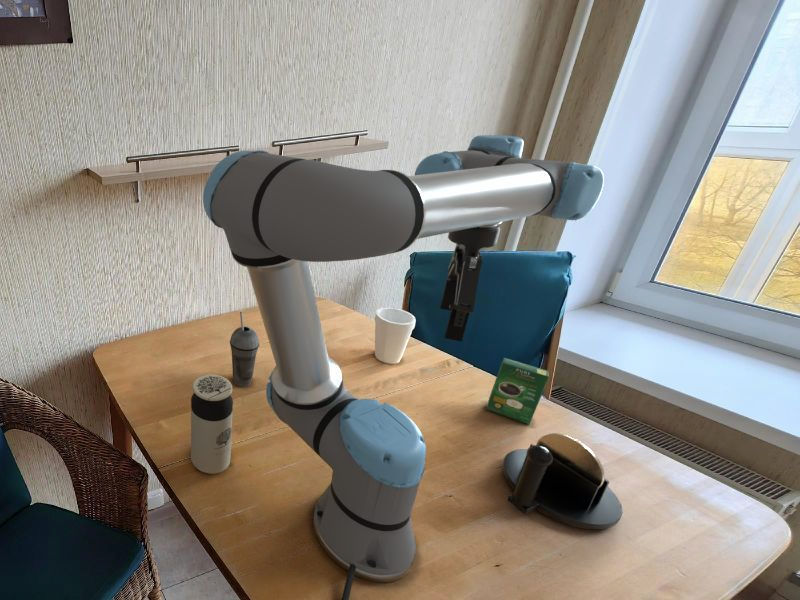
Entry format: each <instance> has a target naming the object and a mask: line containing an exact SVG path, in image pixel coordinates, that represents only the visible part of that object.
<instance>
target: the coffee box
mask: <svg viewBox="0 0 800 600" xmlns="http://www.w3.org/2000/svg"><path fill="white" fill-rule="evenodd" d="M549 379H550V372H549V370H546V369H542V368H539V367H536V366H532V365H530V364H526V363H523V362H520V361H516V360H513V359H511V358H507V357H503V359H502V362H501V364H500V367H499V369H498V372H497V375H496V377H495V381H494V383H493V386H492V389H491V392H490V394H489V397H488V401H487V404H486V410H488V411H491V412H493V413H495V414H498V415H501V416H504V417H507V418H510V419H512V420H514V421H518V422H520V423H524V424H527V425H531V422H532V420H533V417H534V416H535V415H534V414H535V412H536V410H537V408H538V405H539V403H540V400H541V398H542V396H543V393H544V391H545V388H546V387H547V384H548V381H549Z"/></svg>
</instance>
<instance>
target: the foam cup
mask: <svg viewBox="0 0 800 600" xmlns="http://www.w3.org/2000/svg"><path fill="white" fill-rule="evenodd" d="M374 321H375V324H374V356H375V358H376V359H377V360H378V361H380V362H383V363H386V364H389V365H390V364H391V365H396V364H399V363H400V362H401V359H402V357H403V356H404V353H405V350H406V348H407V345H408V344H409V343H408V342H409V340H410V337H411V335H412V332H413V330H414V329H415V327H416V321H417V319H416V316H414V315H413V314H412V313H410V312H409V311H406V310H404V309H401V308H400V309H399V308H397V307H396V308H395V307H381V308H378V309H377V310H376V311H375V314H374Z"/></svg>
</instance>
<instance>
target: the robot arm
mask: <svg viewBox="0 0 800 600" xmlns="http://www.w3.org/2000/svg"><path fill="white" fill-rule="evenodd" d="M524 143H525V142H524V139H522V138H521V137H519V136H514V135H513V136H512V135H502V134H501V135H500V134H499V135H498V134H483V135H482V134H480V135H476V136H474V137H473V138H472V139H471V140H470V143H469V146H468V147H467V150H458V151H456V150H454V151H447V150H446V151H442V152H439V153H433V154H430V155H428V156H426V157H424V158H423V159H422V160H421V161H420V162H419V163H418V165H417V166H416V169H415V171H414V175H407V174H406V173H403V172H401V171H399V170H395V169H379V170H367V169H358V168H352V167H347V166H342V165H337V164H333V163H328V162H323V161H320V160H313V159H306V158H299V157H293V156H289V155H288V156H287V155H280V154H276V153H275V154H274V153H270V152H268V151H266V150H262V149H261V150H260V149H257V150H239V151H235V152H233V153H231V154H228V155H227V156H225V157H223V158H222V159H221V160H220V161H219V162H218V163H217V164H216V165H215V166H214V168H213V169H212V170H211V171H210V174H209V177H208V179H207V180H206V181H205V185H204V188H203V194H202V203H203V204H202V205H203V209H204V213H205V214H206V216H207V218H208V219H209V220H210V222H212V223H213V225H214V226H215V227H217V228H219V229H222V230H223V232H224V234H225V237H226V240H227V244H228V246H229V249H230V253H231V256H232V259H233V260H234V262H236V263H237V264H238V265H240V266H242V267H245V268H246V269H247V273H248V276H249V279H250V282H251V286H252V289H253V291H254V292H253V293H254V296H255V300H256V302H257V305H258V309H259V312H260V316H261V320H262V323H263V326H264V328H265V332H266V336H267V340H268V343H269V346H270V350H271V352H272V356H273V359H274V363H275V366H274V368H273V370H272V371H271V373H270V375H269V377H268V380H269V382H267V383H266V388H265V396H266V400H267V402H268V405H269V406H270V408H271V410H272V411H273V412H274V414H275V415H276V417H277V418H278V419H279V420H280V421H281V422H283V423H284V424H285V425H287V426H288V427H289V428H290V429H291V430H292V431H293V432H294V433H295V434H296V435H297V436H298V437H299V438H300V439H301V440H302V441H303V442H304V443H305V444H306V445H307V446H308V447H309V448H310V449H311V450H312V451H313V452H314V453H315V454H316V455H317V456H318V457H319V458H320V459H322V461H324V462H325V463H326V464H327V466H328V467H329V468H331V470H332V474H331V481H330V483H329V485H328V486H327V487H326V489H325V490H324V492H323V493H321V495H320V496H319V498H318V500H317V502H316V504H315V507H314V511H313V528H314V532H315V536H316V538H317V541H318V542H319V544H320V546H321V547H322V549H323V550H324V551H325V553H326V554H327V555H328V556H329V558H331V560H333V562H335V563H336V564H337V565H338V566H340V568H342V569H343V570H345V571H347V575H346V579H345V583H344V587H343V593H342V596H341V600H349V599H350V595H351V590H352V585H353V581H354V578H355V577H358V578H360V579H363V580H366V581H370V582H375V583H392V582H396V581H398V580H400V579H402V578H404V577H405V576H406V575H408V573H410V570H411V569H412V567H413V565H414V561H415V557H416V553H417V546H416V545H417V544H416V537H415V534H414V529H413V523H412V518H411V517H412V512H413V510H414V505H415V501H416V498H417V495H418V490H419V488H420V483H421V480H422V479H423V477H424V473H425V469H426V455H427V446H426V442H425V441H426V440H425V438H424V435H423V433H422V432H421V430H420V428H419V427H418V426H417V425H416V423H415V421H413V420H412V419H411V418H410V417H409V416H408V415H407V414H406V413H404V412H403V411H402V410H400V409H398V408H397V407H395V406H394V405H391V404H389V403H387V402H384V403H380V402H379V400H377V399H372V398H358V397H357V396H355V395H354V394H353V393H351V392H350V391H349V390H347V389H346V387H345V384H344V380H343V375H342V370H341V369H340V366H339V364H338V363H337V362H336V361H335V360H334V359H333V358H332V357H330V356H329V355H328V349H327V345H326V340H325V336H324V332H323V326H322V322H321V321H322V320H321V317H320V313H319V308H318V304H317V298H316V294H315V290H314V286H313V285H314V284H313V281H312V275H311V271H310V266H309V263H329V262H345V261H356V260H364V259H369V258H375V257H382V256H387V255H391V254H395V253H399V252H402V251H405V250H406V249H409V248H410V247H411V246H412V245H413V244H415V242H416V241H417V240H420V239H425V238H429V237H433V236H439V235H444V234H448V235H447V238H448V240H449V241H450V242H452V243H454V244H455V247H454V250H453V253H452V256H451V258H450V259H451V260H450V262H449V264H448V268H447V269H446V273H447V275H446V278H447V279H446V282H445V285H444V290H443V294H442V298H441V300H440V305H439V308H440V309H441V310H445V311H450V313H449V317H448V322H447V325H446V328H445V332H444V339H447V340H452V341H457V342H463V338H464V335H465V331H466V327H467V324H468V320H469V318H470V317H469V316H470V314H472V313H474V311H475V308H474V307H475V304H476V303H475V302H476V296H477V291H478V286H479V285H478V284H479V279H480V273H481V268H482V265H483V262H484V260H483V259H484V258H483V255H482V254H481V251H480V250H482V249H484V248H486V249H489V248H493V247H495V246H496V245H497V243H498V239H499V236H500V232H501V227H500V224H502V223H503V222H507V221H512V220H517V219H522V218H528V217H535V216H543V217H549V218H551V219H554V220H555V219H558V220H566V221H567V220H568V221H577V220H580V219H583V218H584V217H586V216H587V215H588V214H590V212H591V211H592V210H593V209H594V207H595V206H596V205H597V203H598V202H599V199H600V197H601V195H602V192H603V188H604V184H605V182H604V181H605V176H604V172H603V171H602V170H601V168H600V167H598V166H595V165H592V164H591V165H590V164H585V163H584V164H583V163H577V162H575V161H556V160H547V159H546V160H545V159H535V158H523V157H522V154H523V150H524Z"/></svg>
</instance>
